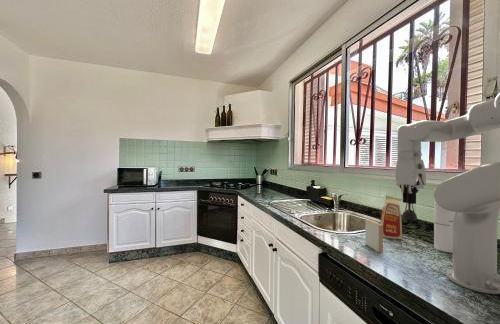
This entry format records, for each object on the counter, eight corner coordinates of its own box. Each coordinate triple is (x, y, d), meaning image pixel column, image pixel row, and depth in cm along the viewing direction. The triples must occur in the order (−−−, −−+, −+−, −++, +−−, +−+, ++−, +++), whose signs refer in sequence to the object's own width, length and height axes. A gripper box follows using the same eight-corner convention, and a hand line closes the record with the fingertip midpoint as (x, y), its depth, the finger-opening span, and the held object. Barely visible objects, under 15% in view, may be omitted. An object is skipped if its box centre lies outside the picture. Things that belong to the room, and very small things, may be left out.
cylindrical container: (461, 253, 89) (461, 191, 89) (440, 251, 90) (441, 190, 90) (449, 246, 96) (449, 188, 96) (430, 245, 97) (430, 188, 97)
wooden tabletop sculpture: (422, 220, 84) (422, 167, 84) (411, 221, 83) (410, 167, 83) (410, 216, 89) (409, 167, 89) (399, 217, 89) (398, 167, 89)
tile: (382, 252, 90) (383, 225, 90) (378, 252, 90) (378, 225, 90) (369, 244, 99) (369, 219, 99) (365, 244, 99) (365, 219, 99)
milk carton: (382, 236, 108) (382, 196, 108) (380, 231, 116) (380, 193, 116) (404, 239, 104) (404, 197, 104) (400, 233, 112) (401, 194, 112)
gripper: (436, 155, 79) (436, 206, 79) (402, 156, 95) (402, 199, 95) (417, 155, 79) (417, 207, 79) (386, 156, 94) (386, 199, 94)
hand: (409, 202), depth 87 cm, fingers closed on wooden tabletop sculpture, 1 cm apart
